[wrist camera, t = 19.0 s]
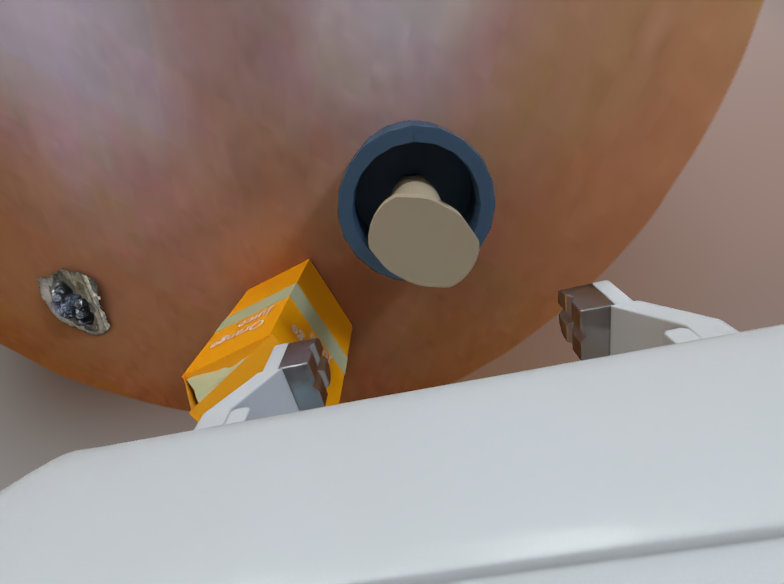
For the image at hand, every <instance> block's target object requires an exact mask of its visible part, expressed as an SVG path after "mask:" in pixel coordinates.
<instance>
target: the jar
mask: <svg viewBox="0 0 784 584" xmlns="http://www.w3.org/2000/svg"><path fill="white" fill-rule="evenodd" d="M412 175H415V176H416V175H421V176H423V177H424V178H425V179H426V180H427V181H429V182H430V183H431V184H432V185H433V187H434V188H435V189H436V191H437V193H438V195H439V197H440V200H441V201H442V202H444V203H446V204H448V205H449V206H451V207H453V208H454V209H456V210H457V211H458V212H459V213H460V214H461V216H462V217H463V218H464V219H465V221H466V222H467V224H468V225H469V226H470V228H471V229H472V231H473V232H474V234H475V235H476V237H477V238H478V240H479V249H480V247H481V245H482V243H483V241H484V240H485V238H486V236H487V234H488V232H489V231H490V228H491V224H492V219H493V214H494V210H495V197H494V188H493V181H492V178H491V176H490V174H489V172H488V170H487V167H486V165H485V163H484V161H483V159H482V158H481V156H480V155H479V154H478V153H477V152H476V151H475V150H474V149H473V148H472V147H471V146H470V145H469V144H468V143H467V142H466V141H465V140H464V139H463V138H461V137H459V136H457V135H455V134H453V133H452V132H450V131H448V130H445V129H443V128H441V127H439V126H437V125H435V124H433V123H430V122H423V121H412V120H408V121H403V122H398V123H395V124H391V125H388V126H386V127H384V128H383V129H381V130H379V131H378V132H376V133H375V134H374V135H372V136H370V137H369V138H368V139H367V141H366V142H365V143H364V144H363V146H362V147H361V148H360V149H359V151H358V152H357V153H356V155H355V156H354V157H353V159H352V160H351V162H350V163H349V165H348V167H347V169H346V172H345V174H344V177H343V180H342V182H341V185H340V188H339V195H338V217H339V221H340V224H341V228H342V231H343V235H344V237H345V239H346V241H347V242H348V244H349V245H350V247H351V248H352V250H353V251H354V253H355V254H356V256H357V257H358V258H359V259H360V260H362V261H363V262H364V263H365V264H367V265H368V266H369V267H370V268H372V269H373V270H374V271H376V272H378V273H380V274H383V275H385V276H388V277H390V278H393V279H395V280H396V279H397V280H404V281H407V280H405V279H403V278H401V277H399V276H397V275H395V274H393V273H392V272H390V271H389V270H388V269H387V268H385V267H384V266H383V264H382V263H381V262H380V261H379V260H378V259H377V257H376V256H375V255H374V253H373V252H372V251H371V250H370V248H369V244H368V233H369V229H370V224H371V221H372V219H373V216H374V214H375V213H376V211H377V209H378V208H379V206H380V205H381V204H382V203H383V202H384V201H385V200H386V199H387V198H389V197H390V196H391V193H392V191H393V188H394V187H395V185H396V184H397V183H398V182H399V179H400V178H401V177H403V176H406V177H407V176H412Z"/></svg>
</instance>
